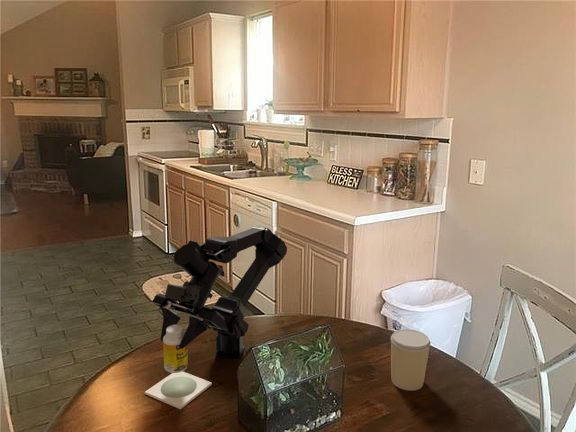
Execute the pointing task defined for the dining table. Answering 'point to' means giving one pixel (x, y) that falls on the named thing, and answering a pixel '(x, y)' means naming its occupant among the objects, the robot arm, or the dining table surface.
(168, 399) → the card
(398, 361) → the coffee cup
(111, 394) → the dining table surface
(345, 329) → the dining table surface
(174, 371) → the supplement bottle
